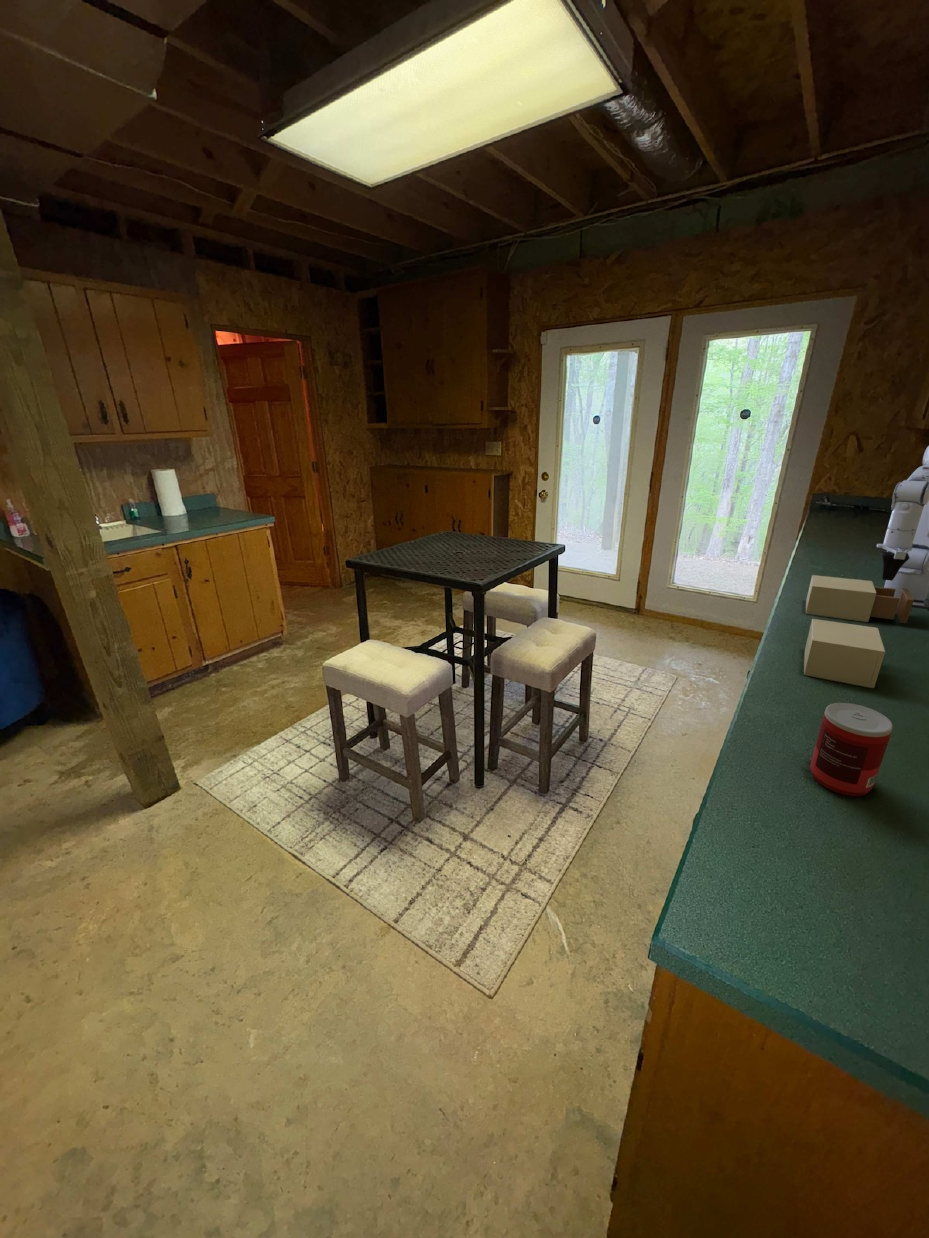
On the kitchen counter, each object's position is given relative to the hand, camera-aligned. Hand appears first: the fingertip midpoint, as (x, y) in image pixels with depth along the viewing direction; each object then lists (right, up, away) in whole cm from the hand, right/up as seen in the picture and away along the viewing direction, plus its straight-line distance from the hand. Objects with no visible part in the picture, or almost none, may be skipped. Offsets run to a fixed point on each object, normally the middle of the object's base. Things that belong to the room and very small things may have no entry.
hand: (887, 579), depth 129 cm
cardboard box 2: (-33, -21, -25) cm, 46 cm away
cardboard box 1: (-10, -8, +5) cm, 14 cm away
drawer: (-1, -9, 0) cm, 9 cm away
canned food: (-57, -35, -56) cm, 87 cm away
